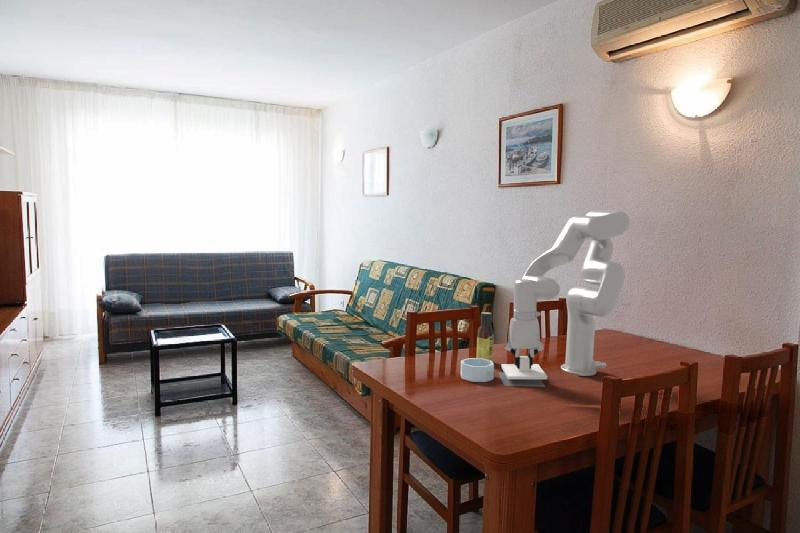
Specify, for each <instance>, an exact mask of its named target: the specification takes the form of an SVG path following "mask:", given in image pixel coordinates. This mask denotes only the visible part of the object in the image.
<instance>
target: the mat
mask: <svg viewBox="0 0 800 533" xmlns="http://www.w3.org/2000/svg"><path fill="white" fill-rule="evenodd" d="M497 373H498V376H499V378H500V380H501V382H502V383H503V385H504V386H506V387H507V386H511V387H535V388H536V387H537V388H538V387H539V388H546V385H545V384H544V382H543V380H542V379H507V377H506V375H505V373H504V371H503V372H502V371H501V372H500V371H499V372H497Z"/></svg>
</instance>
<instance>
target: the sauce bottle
mask: <svg viewBox="0 0 800 533" xmlns="http://www.w3.org/2000/svg"><path fill="white" fill-rule="evenodd" d="M492 315H493V314H492V312H490V311H489V312H487V311H484V312H481V313H480V317H481V318H480V320H481V321H480V326H478V329H477V336H476V355H475V356H476V357H475V358H482V359H486V360H491V361H492V362H493V361H494V343H495V333H494V330H493V326H492Z"/></svg>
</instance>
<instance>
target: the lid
mask: <svg viewBox="0 0 800 533" xmlns="http://www.w3.org/2000/svg"><path fill="white" fill-rule="evenodd" d="M519 357H520V368H519V369H518V368H517V367H516V366H515V363H501V369H502V370H503V372H504V373H505V375H506V377H507V379H540V380H548V376H547V373H546V372H545V371H544V370H543V369H542V368H541V366H540V364H538V363H533V366H531V369H529V358H528V355H519Z"/></svg>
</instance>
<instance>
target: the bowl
mask: <svg viewBox="0 0 800 533" xmlns="http://www.w3.org/2000/svg"><path fill="white" fill-rule="evenodd" d="M494 373H495V364H494V362H493V361H491V360H486V359H482V358H476V357H468V358H465V359H461V360H460V377H461V379H462V380H466V381H468V382H472V383H487V382H491V381H492V380H494V379H495V378H494V376H495V374H494Z"/></svg>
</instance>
